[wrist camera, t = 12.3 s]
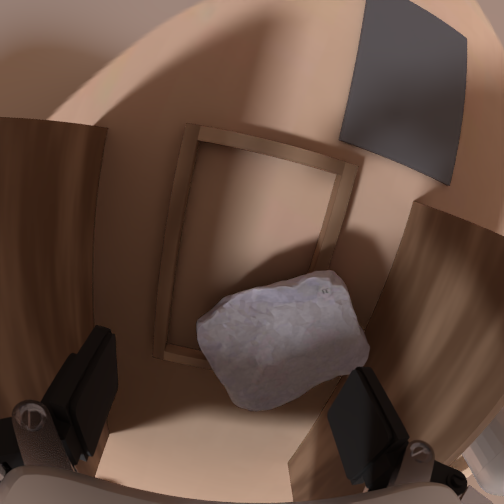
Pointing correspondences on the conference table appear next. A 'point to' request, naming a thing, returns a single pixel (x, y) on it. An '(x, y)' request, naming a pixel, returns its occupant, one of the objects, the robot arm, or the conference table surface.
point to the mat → (407, 88)
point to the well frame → (387, 309)
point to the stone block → (282, 339)
